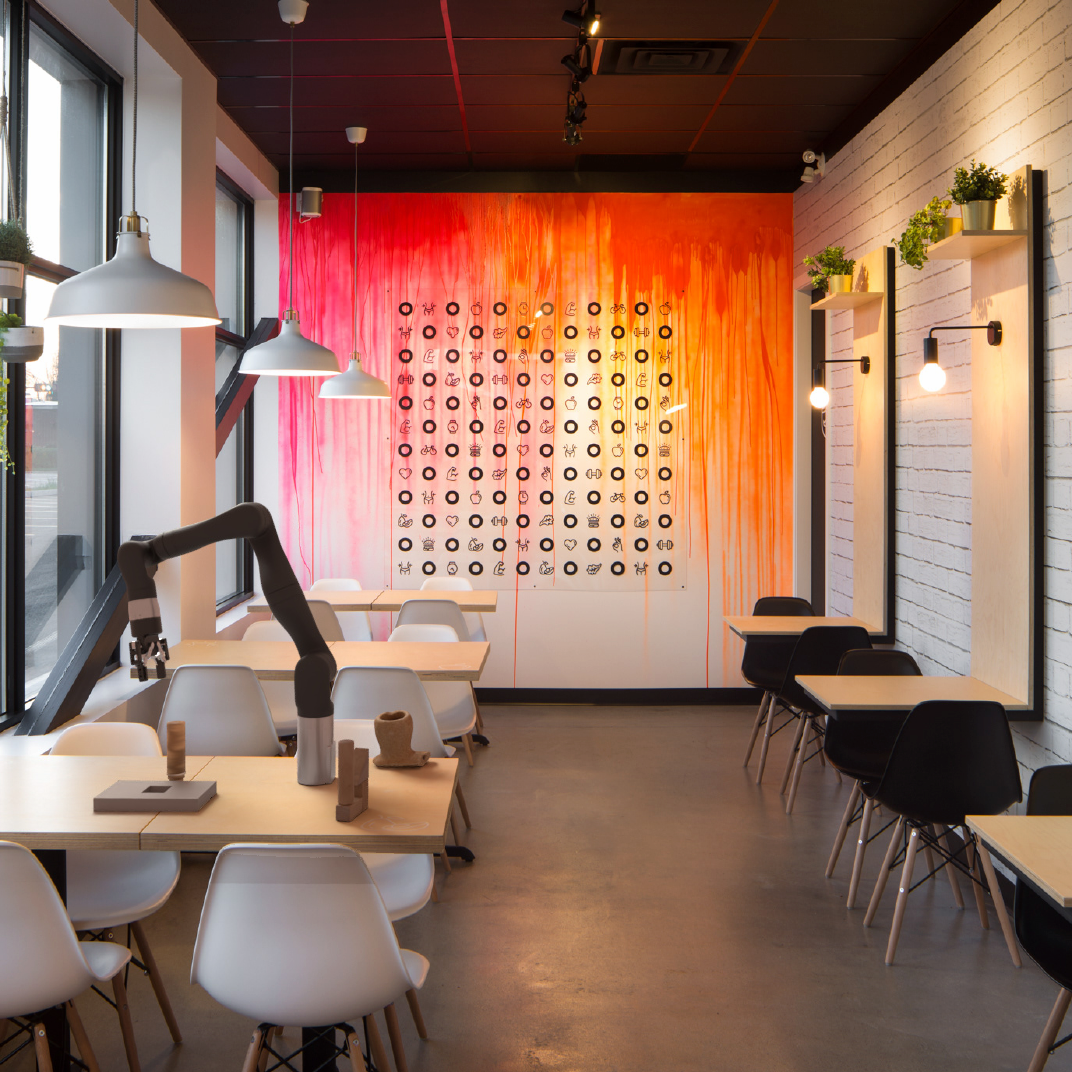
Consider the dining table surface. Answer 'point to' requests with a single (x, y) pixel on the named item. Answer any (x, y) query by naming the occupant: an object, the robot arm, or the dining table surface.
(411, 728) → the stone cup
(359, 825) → the dining table surface
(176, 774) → the oak peg
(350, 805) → the wooden block
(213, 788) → the grayish brown board
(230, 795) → the dining table surface
